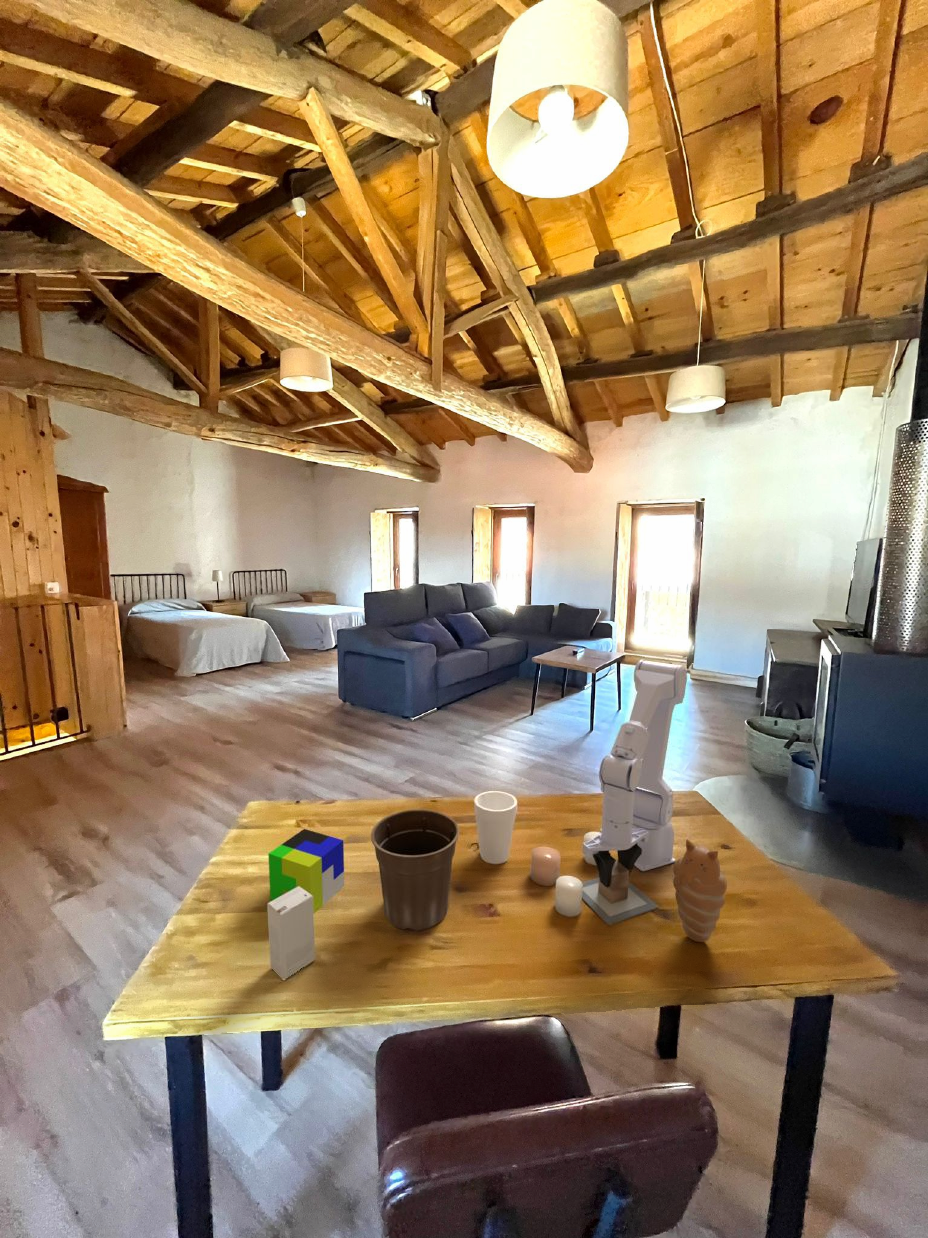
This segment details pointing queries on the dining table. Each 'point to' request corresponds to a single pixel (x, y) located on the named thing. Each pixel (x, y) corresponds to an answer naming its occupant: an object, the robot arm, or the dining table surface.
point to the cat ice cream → (699, 890)
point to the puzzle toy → (308, 866)
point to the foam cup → (495, 824)
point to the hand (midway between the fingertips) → (614, 881)
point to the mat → (618, 910)
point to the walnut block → (616, 884)
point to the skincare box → (291, 932)
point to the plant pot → (415, 866)
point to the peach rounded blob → (545, 865)
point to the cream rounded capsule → (568, 896)
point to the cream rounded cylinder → (587, 838)
